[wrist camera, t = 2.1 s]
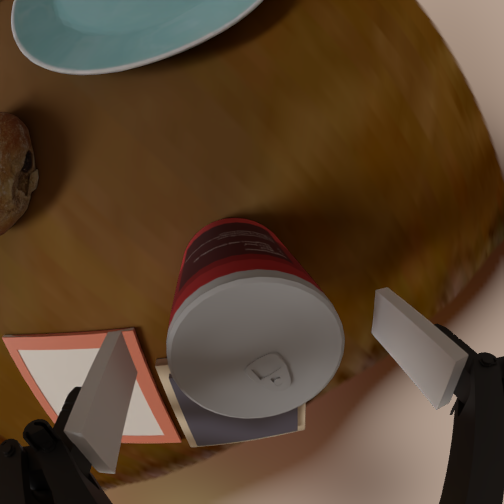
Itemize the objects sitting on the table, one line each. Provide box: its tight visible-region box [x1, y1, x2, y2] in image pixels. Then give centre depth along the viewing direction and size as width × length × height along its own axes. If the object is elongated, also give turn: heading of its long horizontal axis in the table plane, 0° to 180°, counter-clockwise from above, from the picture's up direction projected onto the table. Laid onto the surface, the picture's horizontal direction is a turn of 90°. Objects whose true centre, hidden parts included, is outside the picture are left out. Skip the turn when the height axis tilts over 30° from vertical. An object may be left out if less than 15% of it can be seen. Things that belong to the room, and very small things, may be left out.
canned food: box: [166, 218, 345, 419], centre depth 17 cm, size 8×8×11 cm
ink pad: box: [155, 358, 306, 447], centre depth 25 cm, size 13×13×2 cm
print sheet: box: [2, 327, 181, 443], centre depth 24 cm, size 16×16×1 cm
